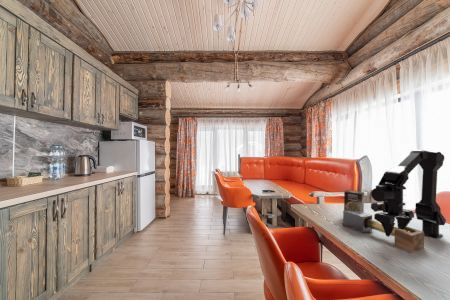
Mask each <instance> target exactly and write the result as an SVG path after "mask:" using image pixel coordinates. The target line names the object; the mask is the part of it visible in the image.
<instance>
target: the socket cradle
mask: <svg viewBox="0 0 450 300" xmlns="http://www.w3.org/2000/svg"><path fill="white" fill-rule="evenodd" d="M404 230H406V231H410V232H412V233H407V232H404V231H401V230H398V229H397V230H395V237H394V247H396V248H399V249H401V250H403V251H406V252H409V253H412V254H413V253H415V252H418V251H421V250H423V249H425V235H424V232H423V231H422V230H420V229H416V228H413V227H408V226H406V227H404Z"/></svg>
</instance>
